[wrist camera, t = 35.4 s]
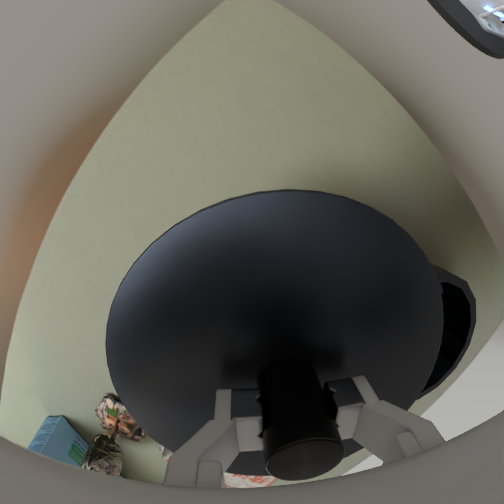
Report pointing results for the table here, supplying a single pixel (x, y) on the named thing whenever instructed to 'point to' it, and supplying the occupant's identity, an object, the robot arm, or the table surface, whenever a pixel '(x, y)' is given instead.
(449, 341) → the waste tin
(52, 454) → the gum box
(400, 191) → the table surface
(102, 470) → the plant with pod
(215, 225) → the tin lid
